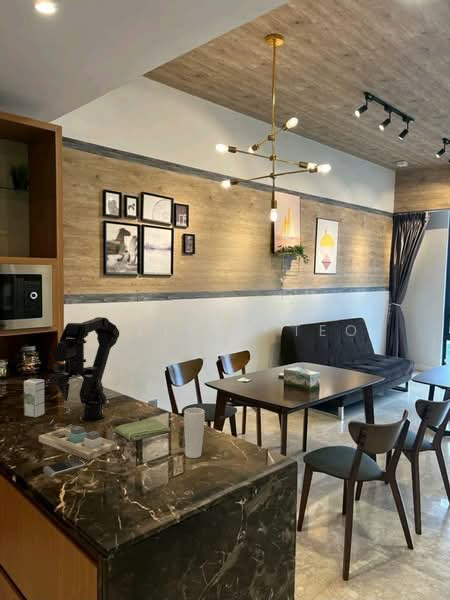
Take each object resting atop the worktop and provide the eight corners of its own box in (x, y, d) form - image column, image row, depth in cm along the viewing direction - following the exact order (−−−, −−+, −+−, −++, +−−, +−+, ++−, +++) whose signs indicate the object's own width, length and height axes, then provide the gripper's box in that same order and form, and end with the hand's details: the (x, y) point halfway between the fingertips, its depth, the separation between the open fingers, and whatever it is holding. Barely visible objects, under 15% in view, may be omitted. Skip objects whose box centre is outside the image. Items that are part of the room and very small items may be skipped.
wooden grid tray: (67, 431, 166) (67, 426, 166) (117, 448, 152) (117, 442, 152) (38, 441, 156) (38, 435, 156) (88, 460, 142) (88, 454, 142)
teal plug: (78, 442, 157) (78, 425, 156) (86, 444, 155) (86, 427, 154) (68, 445, 154) (68, 428, 153) (76, 448, 151) (76, 430, 151)
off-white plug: (93, 447, 152) (93, 430, 152) (101, 450, 150) (101, 432, 150) (84, 451, 149) (84, 433, 149) (92, 454, 147) (92, 436, 147)
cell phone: (86, 468, 137) (86, 463, 137) (50, 478, 130) (50, 474, 130) (77, 461, 142) (77, 457, 142) (42, 471, 134) (42, 466, 134)
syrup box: (44, 413, 186) (45, 379, 186) (34, 418, 181) (34, 382, 180) (33, 412, 188) (33, 377, 187) (23, 416, 183) (23, 380, 182)
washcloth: (172, 433, 169) (172, 424, 169) (130, 443, 157) (130, 434, 157) (153, 423, 179) (153, 415, 179) (112, 433, 167) (112, 424, 167)
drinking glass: (183, 451, 151) (184, 407, 150) (203, 451, 151) (204, 407, 150) (183, 460, 144) (183, 414, 143) (204, 459, 145) (205, 413, 144)
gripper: (81, 350, 180) (81, 388, 181) (40, 357, 165) (40, 399, 166) (100, 354, 174) (100, 393, 175) (59, 361, 159) (60, 405, 160)
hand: (75, 397), depth 169 cm, fingers open, 9 cm apart
